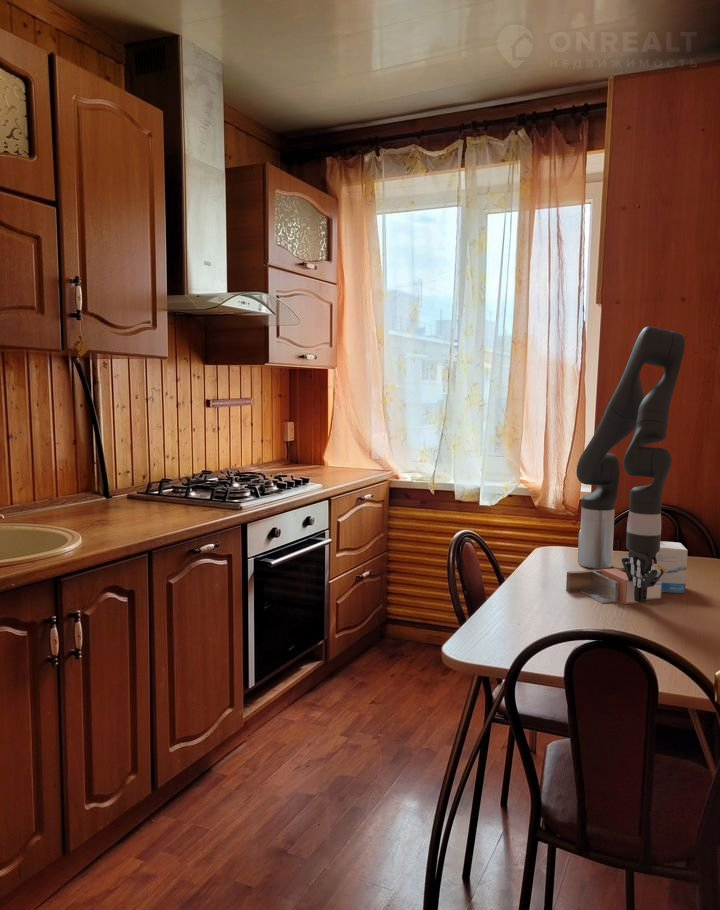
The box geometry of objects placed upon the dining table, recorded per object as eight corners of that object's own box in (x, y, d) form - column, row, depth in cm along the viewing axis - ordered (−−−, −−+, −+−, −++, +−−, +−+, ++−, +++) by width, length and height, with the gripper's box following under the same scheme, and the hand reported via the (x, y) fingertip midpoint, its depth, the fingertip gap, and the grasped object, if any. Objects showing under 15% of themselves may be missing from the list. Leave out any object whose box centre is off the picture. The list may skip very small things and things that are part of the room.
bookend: (579, 591, 181) (580, 572, 180) (594, 590, 182) (594, 571, 181) (602, 603, 171) (603, 583, 170) (617, 602, 172) (618, 582, 171)
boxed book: (600, 592, 180) (601, 569, 180) (614, 591, 181) (615, 568, 181) (625, 604, 171) (626, 580, 170) (639, 603, 172) (640, 579, 171)
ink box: (686, 593, 180) (688, 549, 178) (651, 591, 181) (653, 547, 180) (677, 584, 188) (680, 541, 187) (644, 582, 190) (646, 539, 188)
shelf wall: (566, 590, 181) (566, 571, 181) (626, 585, 186) (627, 567, 185) (569, 592, 180) (570, 573, 179) (629, 587, 184) (630, 569, 184)
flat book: (612, 588, 183) (613, 574, 183) (635, 587, 185) (636, 572, 184) (637, 600, 173) (637, 584, 173) (661, 598, 175) (662, 583, 175)
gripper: (676, 536, 161) (672, 609, 163) (639, 524, 174) (635, 592, 175) (648, 537, 159) (644, 611, 161) (613, 525, 172) (609, 594, 173)
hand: (639, 601), depth 168 cm, fingers closed
